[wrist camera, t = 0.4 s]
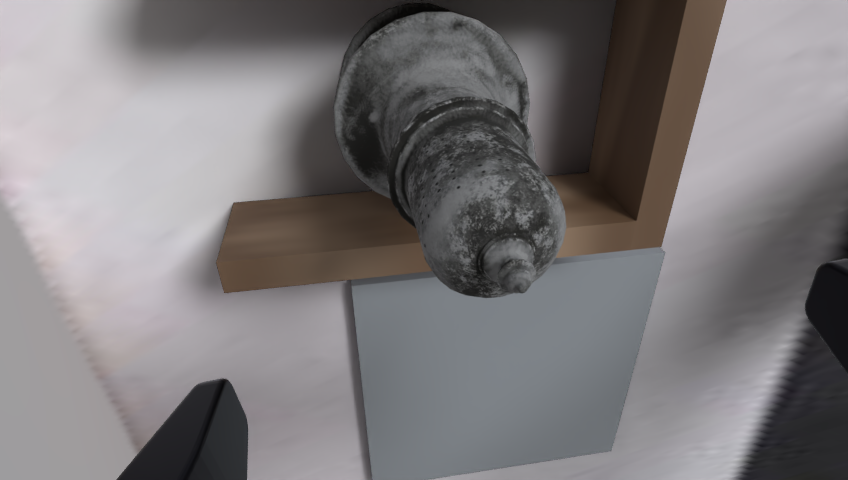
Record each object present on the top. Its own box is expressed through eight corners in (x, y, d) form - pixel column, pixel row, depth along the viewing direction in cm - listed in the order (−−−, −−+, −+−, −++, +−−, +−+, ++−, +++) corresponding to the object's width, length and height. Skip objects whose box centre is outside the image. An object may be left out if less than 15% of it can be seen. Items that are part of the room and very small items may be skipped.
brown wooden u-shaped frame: (667, -95, 17) (751, -94, 14) (610, 195, 23) (661, 246, 19) (167, -85, 15) (123, -82, 12) (240, 230, 21) (224, 293, 17)
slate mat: (658, 245, 24) (665, 252, 24) (606, 442, 32) (611, 451, 31) (350, 277, 23) (351, 286, 22) (372, 478, 30) (373, 488, 30)
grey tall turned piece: (530, 67, 19) (761, 247, 9) (427, 189, 21) (523, 448, 11) (401, -50, 17) (524, 23, 6) (297, 101, 18) (268, 338, 8)
